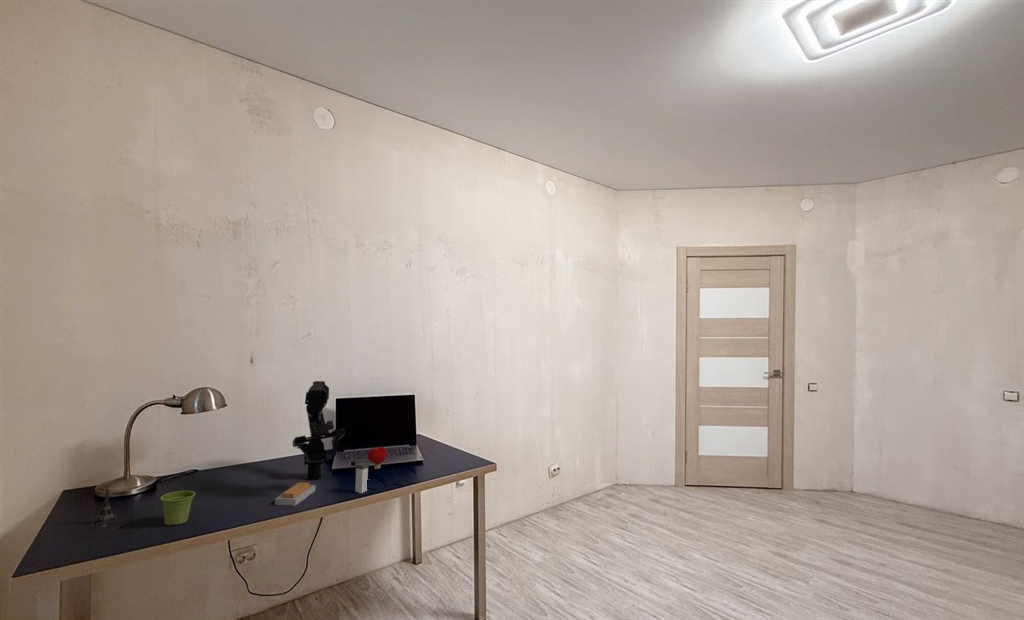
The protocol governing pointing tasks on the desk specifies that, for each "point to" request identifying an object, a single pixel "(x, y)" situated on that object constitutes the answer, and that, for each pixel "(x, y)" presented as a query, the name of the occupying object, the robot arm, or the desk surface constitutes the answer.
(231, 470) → the desk surface
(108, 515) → the eiffel tower figurine
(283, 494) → the button
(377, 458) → the red heart figurine
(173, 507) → the plant pot
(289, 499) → the button housing
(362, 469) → the white tall block
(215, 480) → the desk surface
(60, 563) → the desk surface
